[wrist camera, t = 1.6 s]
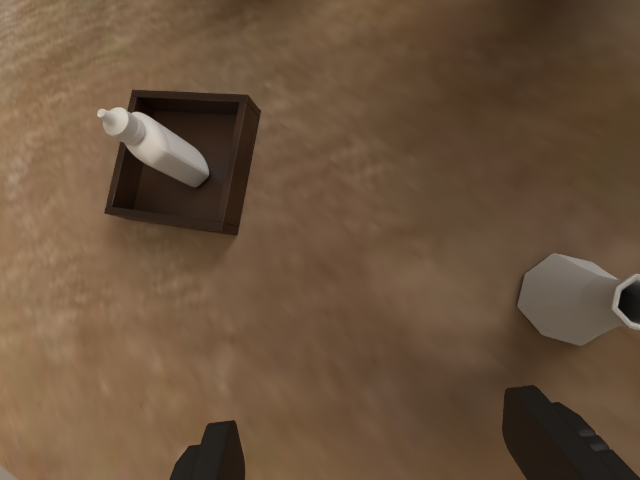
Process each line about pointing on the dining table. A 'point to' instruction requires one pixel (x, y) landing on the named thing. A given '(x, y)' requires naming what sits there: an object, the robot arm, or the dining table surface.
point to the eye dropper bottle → (156, 145)
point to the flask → (578, 299)
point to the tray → (214, 145)
